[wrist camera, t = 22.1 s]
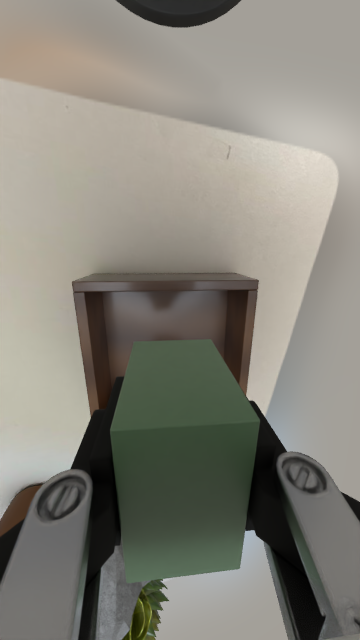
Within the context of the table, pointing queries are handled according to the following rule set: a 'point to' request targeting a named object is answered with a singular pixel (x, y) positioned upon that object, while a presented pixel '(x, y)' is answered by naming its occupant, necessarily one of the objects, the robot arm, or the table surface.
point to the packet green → (182, 461)
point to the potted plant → (128, 603)
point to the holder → (161, 320)
